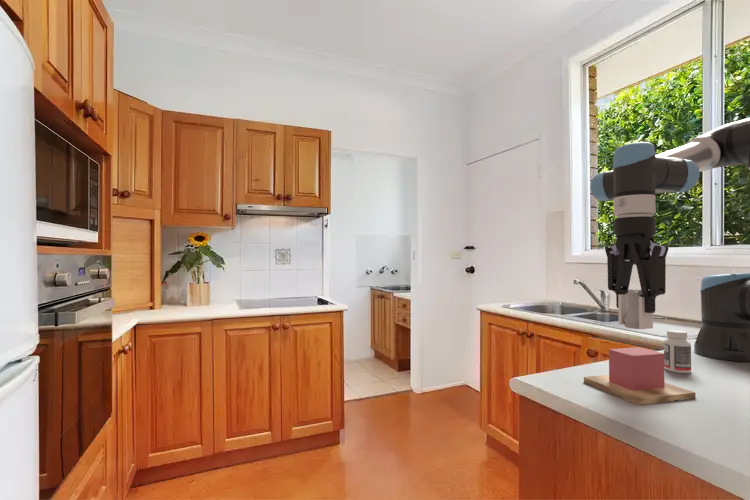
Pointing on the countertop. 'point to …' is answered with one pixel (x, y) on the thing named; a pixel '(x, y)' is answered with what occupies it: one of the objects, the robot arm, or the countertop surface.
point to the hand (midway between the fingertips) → (635, 325)
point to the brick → (636, 368)
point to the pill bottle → (677, 352)
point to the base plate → (640, 391)
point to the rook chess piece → (633, 309)
